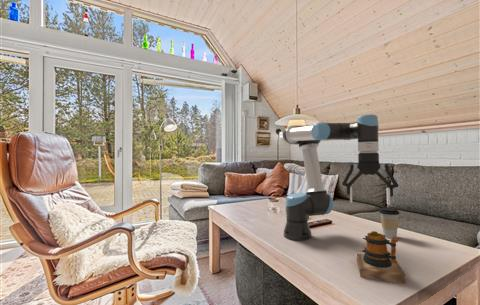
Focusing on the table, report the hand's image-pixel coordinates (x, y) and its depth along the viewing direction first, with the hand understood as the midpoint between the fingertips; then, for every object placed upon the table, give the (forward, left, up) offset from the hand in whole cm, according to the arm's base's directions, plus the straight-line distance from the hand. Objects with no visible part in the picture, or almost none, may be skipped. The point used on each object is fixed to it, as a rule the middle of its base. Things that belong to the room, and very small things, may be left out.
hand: (369, 203), depth 96 cm
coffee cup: (+14, +37, -25) cm, 46 cm away
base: (+2, -6, -25) cm, 25 cm away
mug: (+2, -7, -22) cm, 23 cm away
